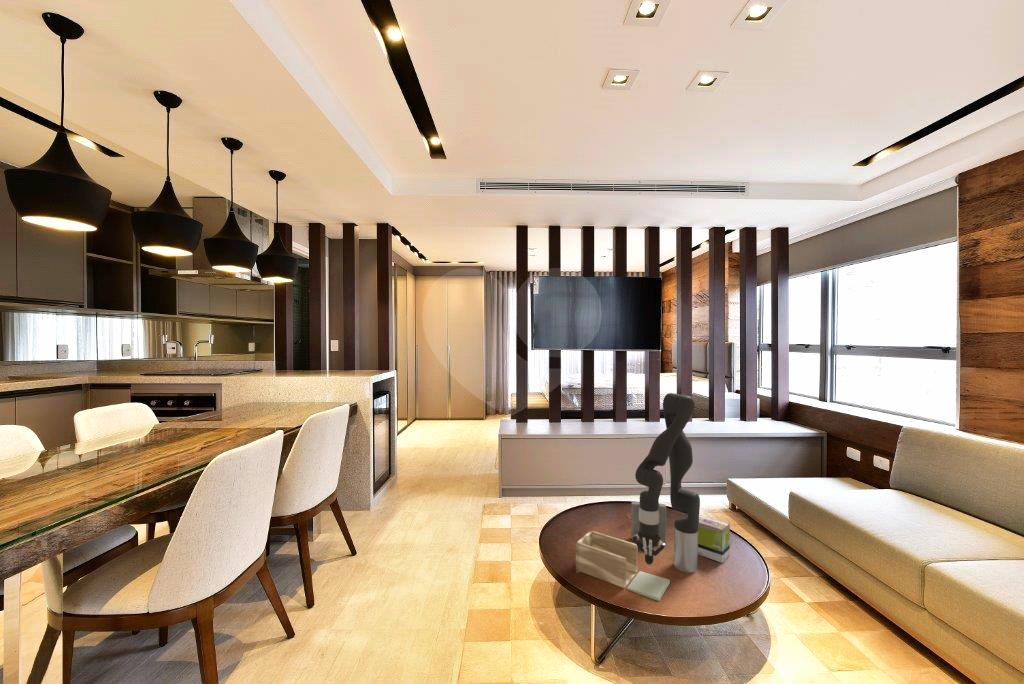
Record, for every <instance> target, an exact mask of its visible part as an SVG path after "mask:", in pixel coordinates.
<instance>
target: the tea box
mask: <svg viewBox="0 0 1024 684" xmlns="http://www.w3.org/2000/svg"><path fill="white" fill-rule="evenodd" d="M730 526H731V525H730V522H726V521H723V520H719V519H715V518H713V517H710V516H705V515H702V514H699V525H698V556H702V557H704V558H707V559H710V560H713V561H715V562H718V563H721V564H722V563H725V561H726V560H727V559H728V558H729V557H730V554H731V553H730V551H731V543H730V542H731V537H730V535H731V531H730V530H731V529H730V528H731V527H730Z"/></svg>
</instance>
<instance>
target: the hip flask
mask: <svg viewBox="0 0 1024 684" xmlns="http://www.w3.org/2000/svg"><path fill="white" fill-rule="evenodd" d="M639 509H640V501H631V512H630V514H631V519H630V520H631V522H630V523H631V524H630V525H631V526H630V527H631V528H630V530H631V531H630V532H631V533H630V535H631V536H630V537H631V538H630V539H631V540H632V541H634V540H633V536H634V535H635V534H636V535H637V534H638V532H639ZM666 534H667V505H666V504H665V503H659V536H660V538H661V541H662V542H663V543H666V544H667V535H666ZM640 540H641V539H640Z"/></svg>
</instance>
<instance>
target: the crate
mask: <svg viewBox="0 0 1024 684" xmlns="http://www.w3.org/2000/svg"><path fill="white" fill-rule="evenodd" d="M638 549H639V548H638V546H637V545H636V543H635V542H631V541H627V540H623V539H621V538H617V537H614V536H611V535H607V534H604V533H601V532H598V531H595V530H591V529H590V530H589V531H588V532H587V533H586V534H585V535H584V536H582V537H581V538H580V539H579V540H578V541H576V543H575V573H576V574H580V573H583V574H585V575H589V576H591V577H594V578H596V579H599V580H602V581H605V582H607V583H610V584H612V585H615V586H617V587H620V588H623V589H626V587H628V586H629V584H630V583H631V582H632V581H633V579H634V578H635V577H636V575H637V574H638V559H639V558H638V555H639V553H638V552H639V551H638Z"/></svg>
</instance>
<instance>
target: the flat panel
mask: <svg viewBox="0 0 1024 684" xmlns="http://www.w3.org/2000/svg"><path fill="white" fill-rule="evenodd" d="M670 583H671V580H670V579H669V578H666V577H662V576H659V575H654V574H651V573H647V572H644V571H641V570H639V571H638V572H637V573H636V574H635V576H634V577H633V578H632V580H631V581H630V582H629V584H628V585H627V586H626V587H627V588H626V589H627V590H628V591H631V592H634V593H636V594H639V595H641V596H645V597H647V598H650V599H652V600H655V601H658V602H659V601H661V598H662V597H663V595H664V593H665V592H666V590H667V588H668V587H669V585H670Z"/></svg>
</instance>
